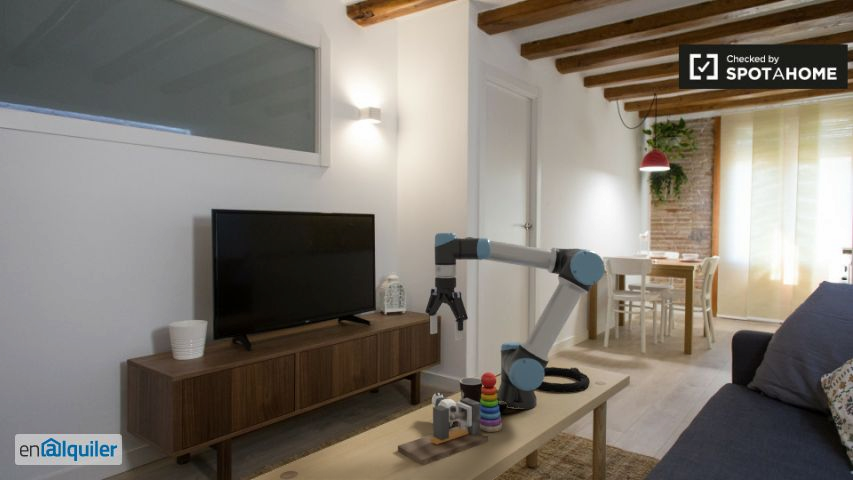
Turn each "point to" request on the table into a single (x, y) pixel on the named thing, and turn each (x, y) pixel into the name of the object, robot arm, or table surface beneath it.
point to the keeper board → (429, 451)
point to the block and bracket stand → (442, 423)
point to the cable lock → (566, 386)
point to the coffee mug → (471, 388)
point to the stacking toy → (489, 405)
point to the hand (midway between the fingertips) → (445, 336)
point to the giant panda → (445, 405)
